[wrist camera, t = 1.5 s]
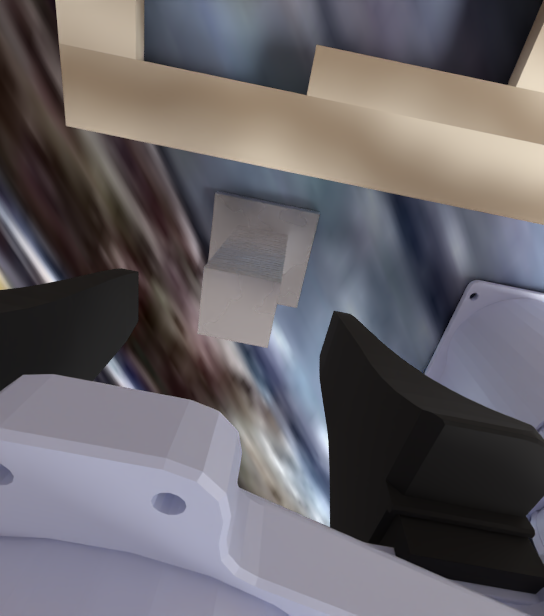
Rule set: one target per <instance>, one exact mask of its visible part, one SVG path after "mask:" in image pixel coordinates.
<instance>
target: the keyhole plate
mask: <svg viewBox="0 0 544 616" xmlns="http://www.w3.org/2000/svg"><path fill="white" fill-rule="evenodd" d="M55 2H56V14H57V25H58V37H59V49H60V60H61V72H62V84H63V96H64V107H65V119H66V126H69V127H74V128H79V129H84V130H89V131H93V132H98V133H103V134H108V135H113V136H118V137H122V138H127V139H132V140H137V141H142V142H147V143H151V144H156V145H161V146H166V147H171V148H176V149H180V150H185V151H190V152H195V153H200V154H205V155H209V156H214V157H219V158H224V159H229V160H234V161H238V162H243V163H248V164H253V165H258V166H263V167H267V168H272V169H277V170H282V171H287V172H291V173H296V174H301V175H306V176H311V177H316V178H320V179H325V180H330V181H335V182H340V183H345V184H349V185H354V186H359V187H364V188H369V189H374V190H378V191H383V192H388V193H393V194H398V195H403V196H407V197H412V198H417V199H422V200H427V201H432V202H436V203H441V204H446V205H451V206H456V207H461V208H465V209H470V210H475V211H480V212H485V213H490V214H494V215H499V216H504V217H509V218H514V219H519V220H523V221H528V222H533V223H538V224H543V225H544V0H543V2H542V5H541V7H540V9H539V12H538V14H537V16H536V19H535V21H534V24H533V26H532V28H531V31H530V33H529V35H528V38H527V40H526V42H525V45H524V47H523V49H522V52H521V54H520V56H519V59H518V61H517V64H516V66H515V68H514V71H513V73H512V75H511V78H510V80H509V82H508V85H505V84H500V83H495V82H490V81H486V80H481V79H476V78H472V77H467V76H462V75H457V74H453V73H448V72H443V71H439V70H434V69H429V68H424V67H420V66H415V65H410V64H405V63H401V62H396V61H391V60H387V59H382V58H377V57H372V56H368V55H363V54H358V53H354V52H349V51H344V50H339V49H335V48H330V47H325V46H320V45H316V50H315V56H314V61H313V66H312V71H311V76H310V81H309V86H308V91H307V95H303V94H298V93H294V92H289V91H284V90H279V89H275V88H270V87H265V86H260V85H256V84H251V83H246V82H241V81H236V80H232V79H227V78H222V77H217V76H213V75H208V74H203V73H198V72H194V71H189V70H184V69H179V68H175V67H170V66H165V65H160V64H155V63H151V62H146V61H144V0H55Z"/></svg>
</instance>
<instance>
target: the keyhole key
mask: <svg viewBox="0 0 544 616" xmlns="http://www.w3.org/2000/svg"><path fill="white" fill-rule="evenodd" d="M319 216H320V214H319V212H318V211H313V210H308V209H304V208H299V207H294V206H289V205H284V204H279V203H274V202H270V201H265V200H260V199H255V198H250V197H245V196H240V195H236V194H231V193H226V192H221V191H218V192H216V193H215V200H214V210H213V220H212V229H211V239H210V249H209V259H208V263H207V264H206V265H205V267H204V271H203V282H202V292H201V302H200V313H199V323H198V333H197V334H201V335H206V336H211V337H216V338H221V339H226V340H231V341H236V342H241V343H246V344H251V345H256V346H261V347H266V348H268V343H269V338H270V334H271V329H272V324H273V320H274V315H275V310H276V306H277V304H280V305H285V306H290V307H295V308H297V305H298V301H299V297H300V293H301V289H302V285H303V281H304V276H305V272H306V268H307V264H308V260H309V256H310V252H311V248H312V244H313V240H314V236H315V232H316V228H317V224H318V220H319Z"/></svg>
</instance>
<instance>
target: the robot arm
mask: <svg viewBox="0 0 544 616" xmlns="http://www.w3.org/2000/svg"><path fill="white" fill-rule="evenodd" d="M473 293H476V295H475V296H474V297H473V298H470V295H471V294H473ZM137 322H138V272H136V271H131V270H126V269H112V270H107V271H102V272H97V273H93V274H88V275H84V276H80V277H75V278H71V279H66V280H61V281H56V282H51V283H46V284H41V285H35V286H29V287H22V288H14V289H6V290H0V616H544V293H540V292H535V291H531V290H526V289H521V288H516V287H511V286H506V285H501V284H496V283H491V282H487V281H482V280H474V281H472V282H470V283H469V284H468V286H467V288H466V290H465V292H464V294H463V296H462V298H461V300H460V302H459V304H458V306H457V308H456V310H455V312H454V314H453V316H452V318H451V320H450V322H449V324H448V326H447V328H446V330H445V332H444V334H443V336H442V338H441V340H440V342H439V344H438V346H437V348H436V350H435V353H434V355H433V357H432V359H431V361H430V363H429V365H428V367H427V369H426V371H425V373H424V374H423V373H422V372H420V371H419V370H417V369H416V368H414V367H413V366H411V365H410V364H408V363H407V362H406V361H404V360H403V359H402V358H400V357H399V356H398V355H397V354H395V353H394V352H393V351H392V350H390V349H389V348H388V347H387V346H386V345H385V344H383V343H382V342H381V341H380V340H379V339H378V338H377V337H376V336H374V335H373V334H372V333H371V332H370V331H369V330H368V329H367V328H366V327H365V326H364V325H363V324H362V323H361V322H359V321H358V320H357V319H356V318H355V317H354V316H352V315H351V314H348V313H343V312H338V311H334V312H333V315H332V318H331V322H330V325H329V328H328V331H327V334H326V338H325V341H324V344H323V347H322V350H321V354H320V384H321V391H322V398H323V404H324V411H325V417H326V424H327V431H328V440H329V465H330V527H328V526H325V525H323V524H321V523H319V522H316V521H314V520H312V519H309V518H307V517H305V516H303V515H300V514H298V513H296V512H293V511H291V510H289V509H287V508H284V507H282V506H280V505H277V504H275V503H273V502H271V501H268V500H266V499H264V498H261V497H259V496H257V495H255V494H252V493H250V492H248V491H245V490H243V489H241V488H239V486H238V484H237V480H238V474H239V468H240V462H241V456H242V450H241V443H240V437H239V431H238V430H237V429H236V428H235V427H234V426H233V425H232V424H231V423H230V422H229V421H228V420H227V419H226V418H225V417H224V416H223V415H222V414H221V413H220V412H219V411H217V410H215V409H212V408H210V407H207V406H205V405H202V404H200V403H197V402H195V401H192V400H189V399H183V398H178V397H173V396H167V395H162V394H157V393H151V392H146V391H141V390H135V389H130V388H125V387H119V386H114V385H109V384H103V383H98V382H93V380H94V379H95V378H96V377H97V375H98V374H99V373H100V372H101V371H102V370H103V368H104V367H105V366H106V365H107V364H108V362H109V361H110V360H111V359H112V358H113V357H114V355H115V354H116V353H117V352H118V351H119V349H120V348H121V347H122V346H123V344H124V343H125V342H126V341H127V339H128V337H129V336H130V334H131V333H132V331H133V329H134V327H135V326H136V324H137Z"/></svg>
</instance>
